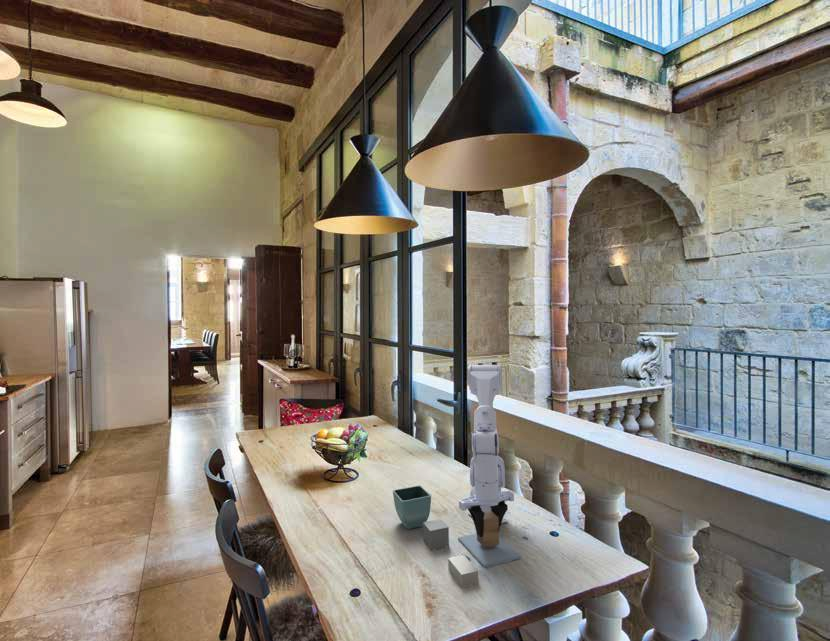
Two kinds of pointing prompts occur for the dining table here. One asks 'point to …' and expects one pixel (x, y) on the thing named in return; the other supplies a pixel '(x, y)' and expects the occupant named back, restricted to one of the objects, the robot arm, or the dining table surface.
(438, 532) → the grey cube
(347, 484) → the dining table surface
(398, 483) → the dining table surface
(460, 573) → the pale grey block
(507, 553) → the slate mat
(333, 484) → the dining table surface
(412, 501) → the flower pot
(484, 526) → the tall walnut block
